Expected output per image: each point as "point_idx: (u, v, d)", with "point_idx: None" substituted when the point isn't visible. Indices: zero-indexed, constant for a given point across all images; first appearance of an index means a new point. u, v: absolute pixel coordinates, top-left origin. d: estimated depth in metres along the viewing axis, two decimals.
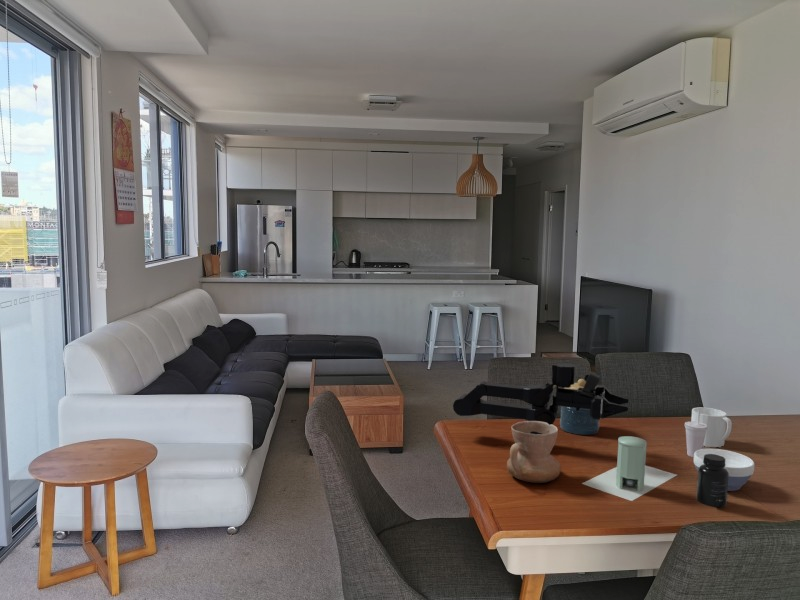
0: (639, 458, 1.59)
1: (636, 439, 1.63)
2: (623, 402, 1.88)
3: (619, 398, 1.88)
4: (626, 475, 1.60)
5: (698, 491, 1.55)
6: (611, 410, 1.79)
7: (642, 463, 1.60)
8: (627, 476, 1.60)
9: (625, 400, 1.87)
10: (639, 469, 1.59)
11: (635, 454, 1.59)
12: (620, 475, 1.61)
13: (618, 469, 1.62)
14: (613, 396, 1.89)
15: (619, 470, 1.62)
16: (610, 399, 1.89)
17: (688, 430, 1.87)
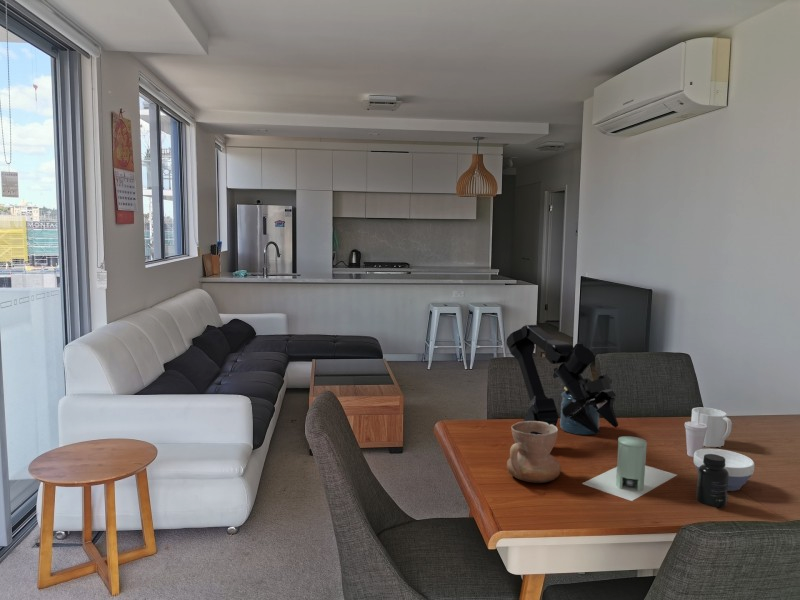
0: (639, 458, 1.59)
1: (636, 439, 1.63)
2: (612, 423, 1.72)
3: (612, 417, 1.72)
4: (626, 475, 1.60)
5: (698, 491, 1.55)
6: (584, 420, 1.67)
7: (642, 463, 1.60)
8: (627, 476, 1.60)
9: (615, 423, 1.71)
10: (639, 469, 1.59)
11: (635, 454, 1.59)
12: (620, 475, 1.61)
13: (618, 469, 1.62)
14: (609, 411, 1.72)
15: (619, 470, 1.62)
16: (605, 411, 1.74)
17: (688, 430, 1.87)
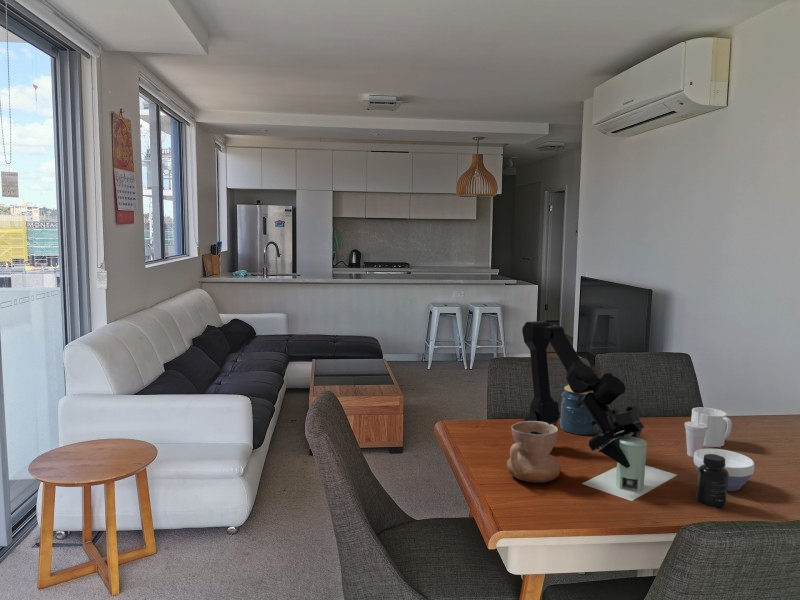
0: (639, 458, 1.59)
1: (636, 439, 1.63)
2: None
3: None
4: (626, 475, 1.60)
5: (698, 491, 1.55)
6: (613, 454, 1.61)
7: (642, 463, 1.60)
8: (627, 476, 1.60)
9: None
10: (639, 469, 1.59)
11: (635, 454, 1.59)
12: (620, 475, 1.61)
13: (618, 469, 1.62)
14: None
15: (619, 470, 1.62)
16: None
17: (688, 430, 1.87)
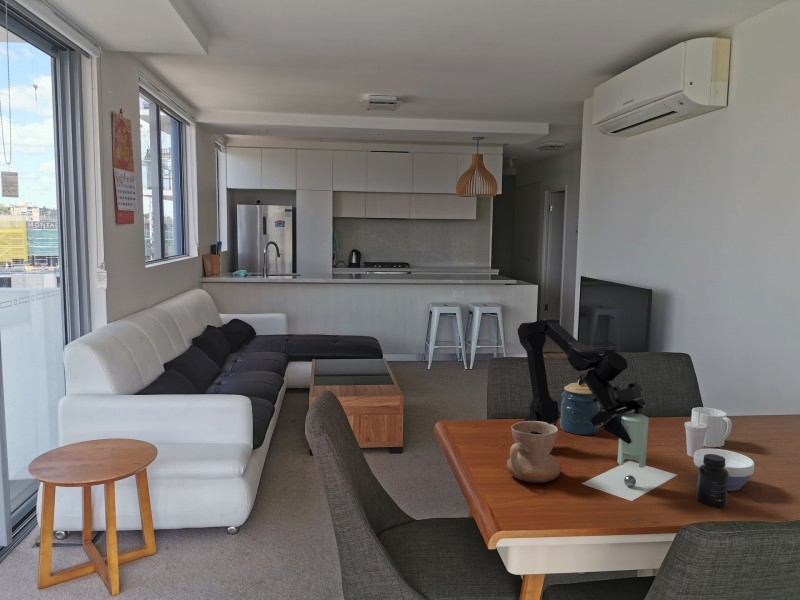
0: (641, 434, 1.59)
1: (638, 415, 1.62)
2: None
3: None
4: (628, 451, 1.60)
5: (698, 491, 1.55)
6: (615, 430, 1.60)
7: (644, 439, 1.59)
8: (629, 452, 1.59)
9: None
10: (641, 445, 1.59)
11: (637, 430, 1.58)
12: (622, 451, 1.61)
13: (619, 445, 1.62)
14: None
15: (621, 446, 1.61)
16: None
17: (688, 430, 1.87)
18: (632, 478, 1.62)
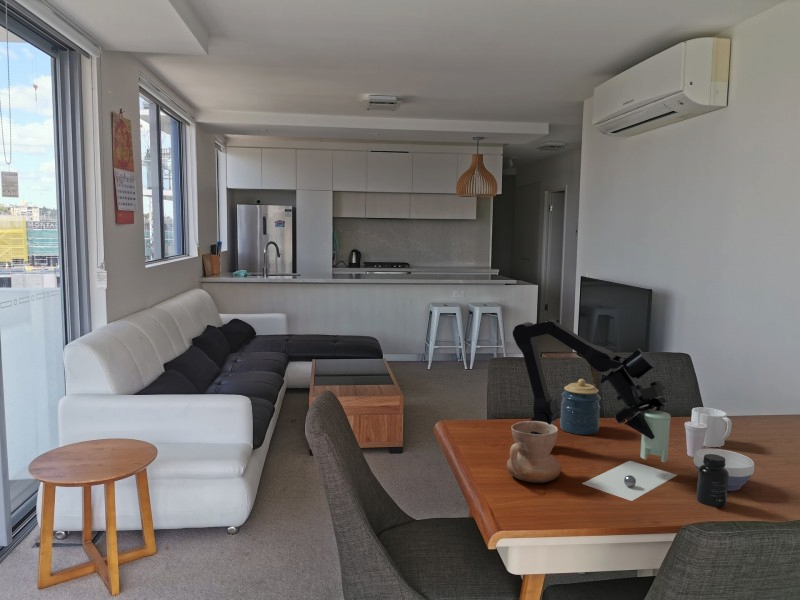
0: (663, 430, 1.67)
1: (660, 412, 1.71)
2: None
3: None
4: (651, 446, 1.69)
5: (698, 491, 1.55)
6: (639, 426, 1.69)
7: (666, 435, 1.68)
8: (652, 447, 1.68)
9: None
10: (663, 440, 1.68)
11: (660, 426, 1.67)
12: (645, 446, 1.70)
13: (643, 441, 1.71)
14: None
15: (644, 442, 1.70)
16: None
17: (688, 430, 1.87)
18: (632, 478, 1.62)
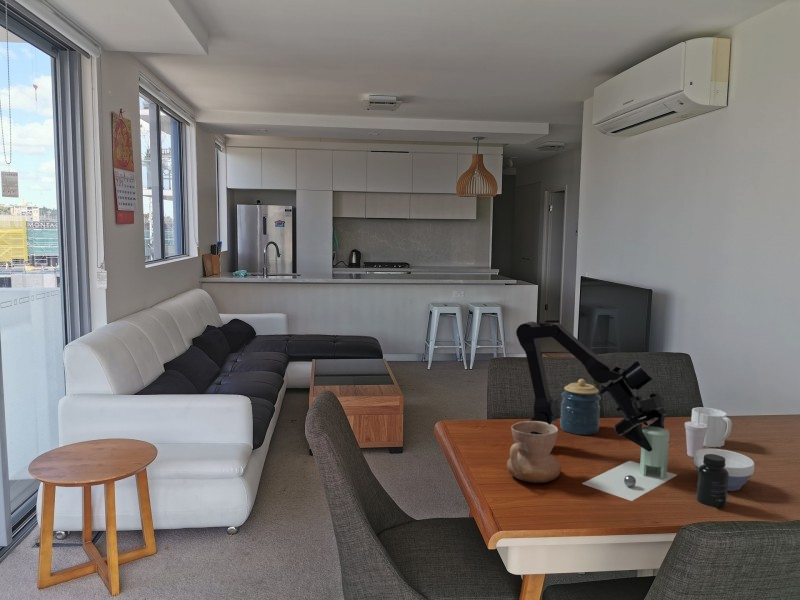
0: (662, 447, 1.68)
1: (659, 429, 1.72)
2: None
3: None
4: (650, 463, 1.69)
5: (698, 491, 1.55)
6: (636, 438, 1.69)
7: (665, 451, 1.68)
8: (651, 464, 1.69)
9: None
10: (662, 457, 1.68)
11: (659, 443, 1.68)
12: (644, 463, 1.70)
13: (642, 457, 1.71)
14: None
15: (643, 458, 1.71)
16: None
17: (688, 430, 1.87)
18: (632, 478, 1.62)
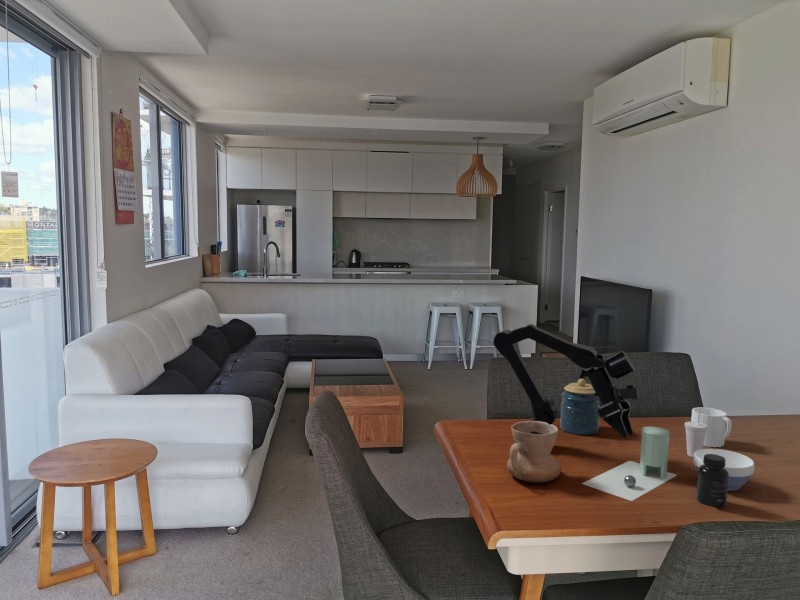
0: (662, 447, 1.68)
1: (659, 429, 1.72)
2: (627, 431, 1.83)
3: (629, 426, 1.83)
4: (650, 463, 1.69)
5: (698, 491, 1.55)
6: (615, 423, 1.75)
7: (665, 451, 1.69)
8: (651, 464, 1.69)
9: (630, 432, 1.82)
10: (662, 457, 1.68)
11: (659, 443, 1.68)
12: (644, 463, 1.70)
13: (642, 457, 1.71)
14: (627, 419, 1.84)
15: (643, 458, 1.71)
16: (622, 418, 1.84)
17: (688, 430, 1.87)
18: (632, 478, 1.62)
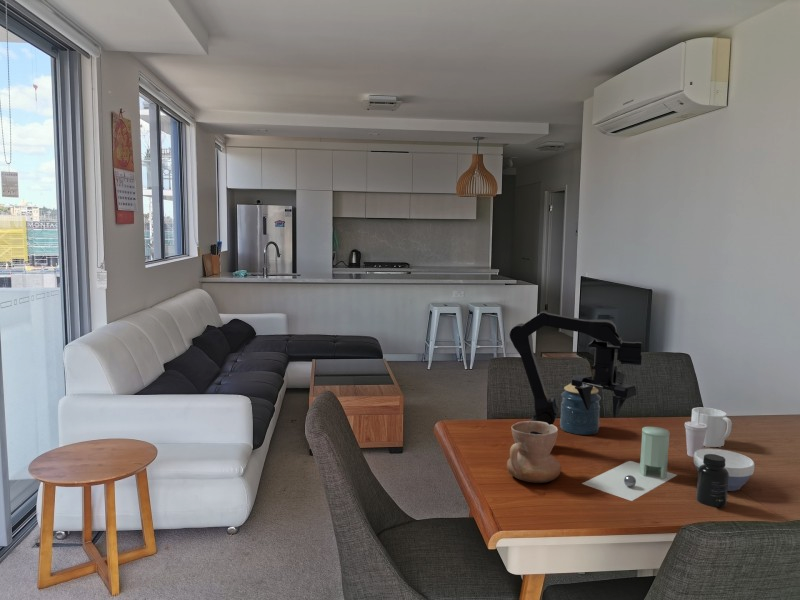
0: (662, 447, 1.68)
1: (659, 429, 1.72)
2: (587, 406, 1.89)
3: (589, 401, 1.90)
4: (650, 463, 1.69)
5: (698, 491, 1.55)
6: (618, 403, 1.81)
7: (665, 451, 1.69)
8: (651, 464, 1.69)
9: (589, 407, 1.89)
10: (662, 457, 1.68)
11: (659, 443, 1.68)
12: (644, 463, 1.70)
13: (642, 457, 1.71)
14: (590, 395, 1.90)
15: (643, 458, 1.71)
16: (587, 393, 1.89)
17: (688, 430, 1.87)
18: (632, 478, 1.62)
